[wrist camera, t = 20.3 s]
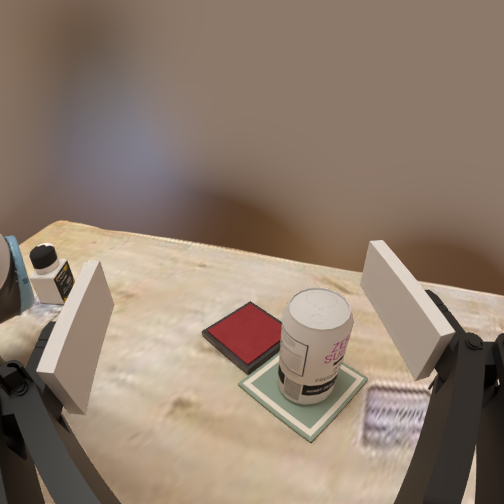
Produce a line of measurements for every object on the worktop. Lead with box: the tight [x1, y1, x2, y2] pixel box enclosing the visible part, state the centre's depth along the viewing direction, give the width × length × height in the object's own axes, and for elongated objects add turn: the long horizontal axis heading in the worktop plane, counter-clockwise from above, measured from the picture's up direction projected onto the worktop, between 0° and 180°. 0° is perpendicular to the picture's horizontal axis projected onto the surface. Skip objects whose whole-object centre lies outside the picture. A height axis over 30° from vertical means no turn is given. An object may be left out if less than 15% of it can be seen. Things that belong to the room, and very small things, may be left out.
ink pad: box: [202, 301, 282, 375], centre depth 49 cm, size 11×11×2 cm
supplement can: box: [277, 287, 354, 405], centre depth 37 cm, size 8×8×15 cm
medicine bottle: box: [30, 243, 75, 304], centre depth 55 cm, size 7×7×12 cm
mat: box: [238, 352, 368, 443], centre depth 41 cm, size 14×14×1 cm
